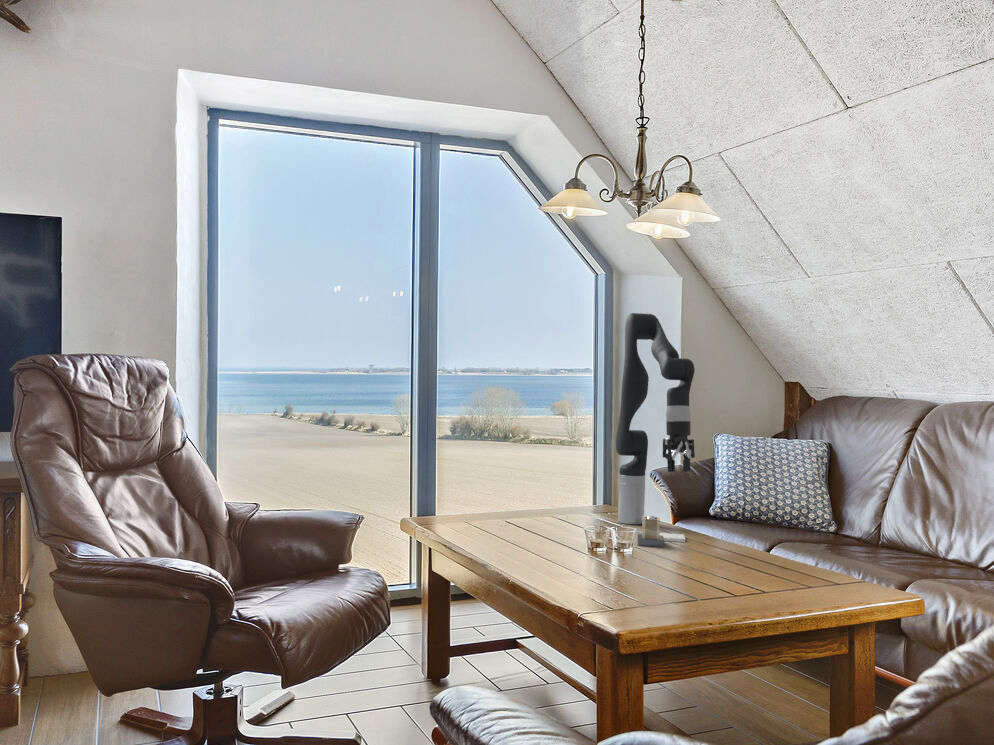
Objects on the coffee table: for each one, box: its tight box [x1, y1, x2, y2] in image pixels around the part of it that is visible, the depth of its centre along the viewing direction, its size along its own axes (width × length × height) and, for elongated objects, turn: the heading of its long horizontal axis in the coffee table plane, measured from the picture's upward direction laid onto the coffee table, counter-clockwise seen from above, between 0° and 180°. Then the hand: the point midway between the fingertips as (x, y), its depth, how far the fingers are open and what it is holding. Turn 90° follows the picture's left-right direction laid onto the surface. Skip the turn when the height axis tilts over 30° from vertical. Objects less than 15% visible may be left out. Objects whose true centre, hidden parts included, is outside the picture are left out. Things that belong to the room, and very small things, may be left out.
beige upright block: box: [641, 515, 661, 539], centre depth 258 cm, size 5×5×6 cm
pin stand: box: [637, 515, 665, 548], centre depth 258 cm, size 8×8×8 cm
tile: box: [660, 532, 686, 543], centre depth 267 cm, size 8×8×1 cm
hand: (679, 471), depth 261 cm, fingers open, 8 cm apart
